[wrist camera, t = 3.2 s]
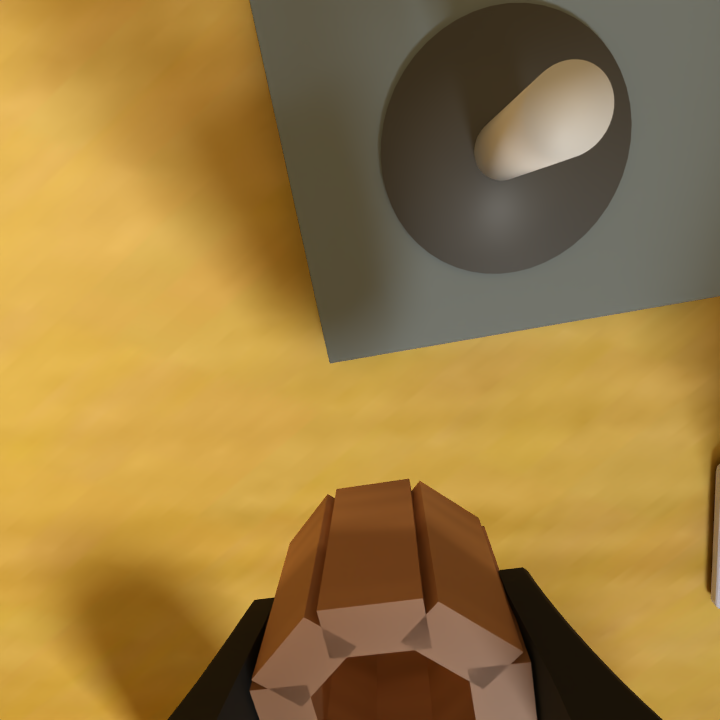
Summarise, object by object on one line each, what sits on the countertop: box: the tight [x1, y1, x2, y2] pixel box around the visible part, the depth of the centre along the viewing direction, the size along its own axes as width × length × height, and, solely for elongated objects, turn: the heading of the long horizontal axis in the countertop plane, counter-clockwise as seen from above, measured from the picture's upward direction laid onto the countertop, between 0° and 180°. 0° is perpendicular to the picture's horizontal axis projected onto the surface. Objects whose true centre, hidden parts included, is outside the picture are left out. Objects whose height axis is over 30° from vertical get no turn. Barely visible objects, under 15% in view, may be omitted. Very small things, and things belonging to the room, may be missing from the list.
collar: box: [249, 479, 537, 720], centre depth 11 cm, size 6×6×4 cm
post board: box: [250, 0, 720, 363], centre depth 13 cm, size 15×13×7 cm
